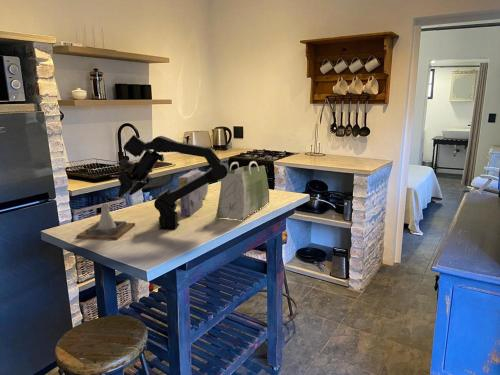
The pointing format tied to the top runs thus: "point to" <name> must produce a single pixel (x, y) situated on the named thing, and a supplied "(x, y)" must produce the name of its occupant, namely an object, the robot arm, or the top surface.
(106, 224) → the flask
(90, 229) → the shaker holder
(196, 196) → the cake pan box
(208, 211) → the top surface
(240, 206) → the grocery bag
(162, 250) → the top surface
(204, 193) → the mug
